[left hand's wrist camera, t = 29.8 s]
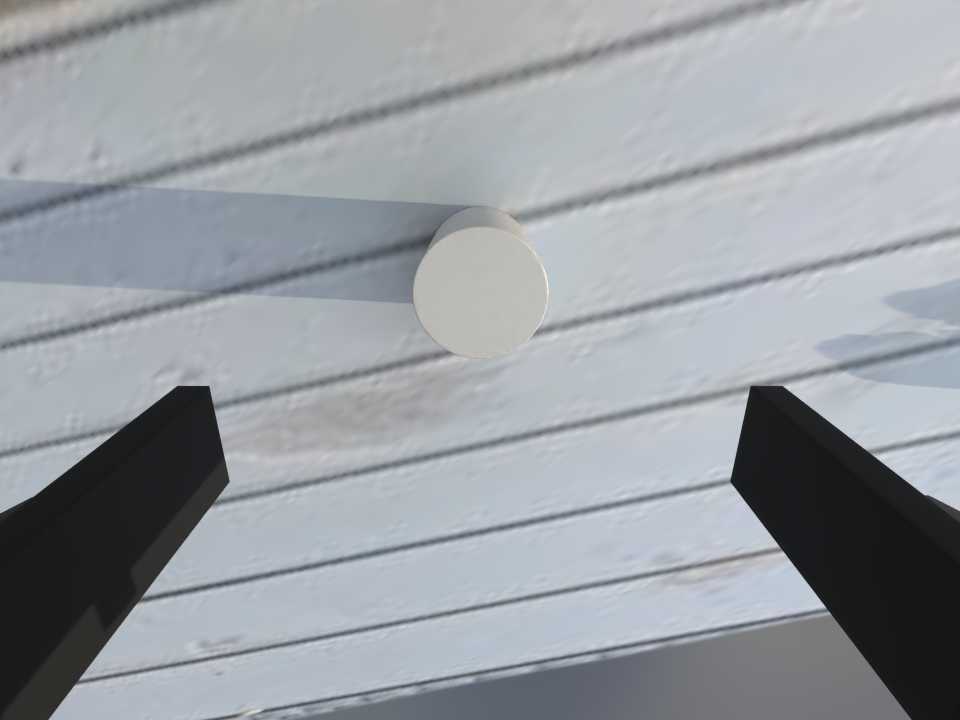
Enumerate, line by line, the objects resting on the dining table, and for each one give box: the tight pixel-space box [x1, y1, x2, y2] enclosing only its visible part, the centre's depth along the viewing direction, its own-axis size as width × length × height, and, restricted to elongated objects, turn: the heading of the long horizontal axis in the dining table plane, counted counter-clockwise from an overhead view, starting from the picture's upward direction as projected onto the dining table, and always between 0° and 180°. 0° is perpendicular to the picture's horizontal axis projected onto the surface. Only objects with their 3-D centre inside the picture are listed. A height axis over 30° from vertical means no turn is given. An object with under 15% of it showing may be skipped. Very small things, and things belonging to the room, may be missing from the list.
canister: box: [412, 207, 548, 359], centre depth 30 cm, size 7×7×10 cm
